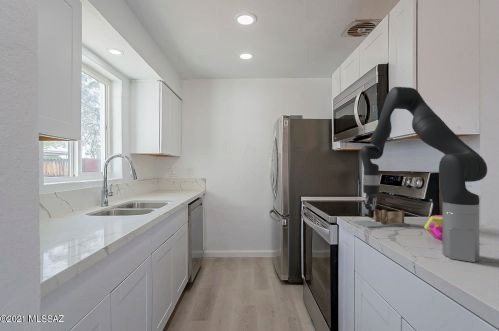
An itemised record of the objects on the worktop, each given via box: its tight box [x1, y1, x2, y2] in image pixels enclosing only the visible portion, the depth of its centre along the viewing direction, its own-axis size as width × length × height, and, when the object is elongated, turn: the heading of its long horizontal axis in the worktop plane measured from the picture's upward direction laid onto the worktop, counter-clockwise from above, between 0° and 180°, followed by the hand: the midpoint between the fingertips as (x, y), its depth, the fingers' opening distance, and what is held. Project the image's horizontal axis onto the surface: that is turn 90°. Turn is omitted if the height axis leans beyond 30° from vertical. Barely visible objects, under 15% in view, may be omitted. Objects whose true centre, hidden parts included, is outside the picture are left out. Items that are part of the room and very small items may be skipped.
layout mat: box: [352, 219, 411, 229], centre depth 131 cm, size 23×12×1 cm, turn 101°
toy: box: [423, 214, 443, 243], centre depth 104 cm, size 10×18×10 cm, turn 152°
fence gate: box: [371, 208, 382, 223], centre depth 134 cm, size 9×2×6 cm, turn 2°
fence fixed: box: [381, 209, 405, 225], centre depth 129 cm, size 12×2×8 cm, turn 101°
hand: (371, 217), depth 135 cm, fingers closed
